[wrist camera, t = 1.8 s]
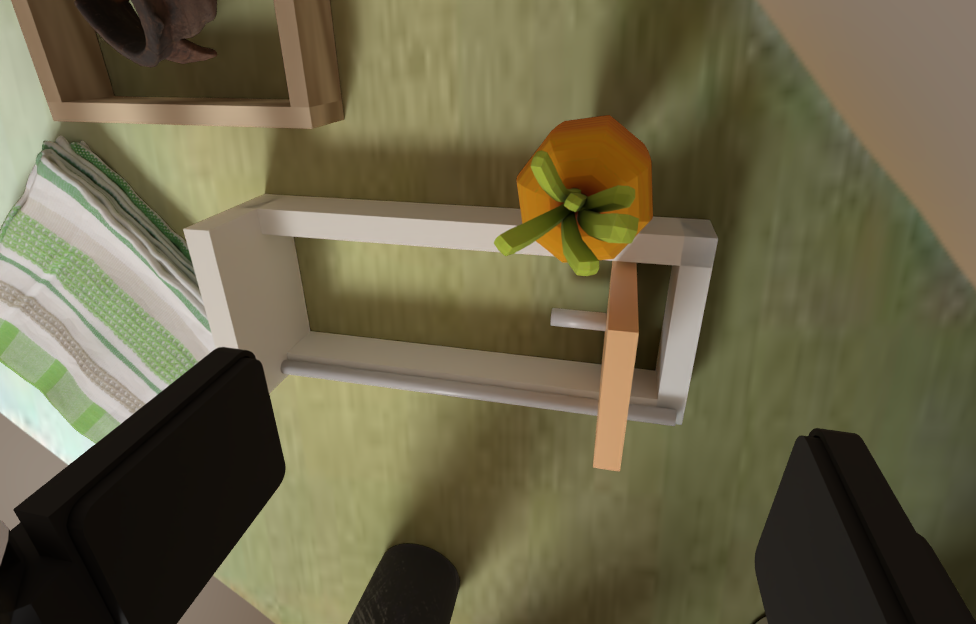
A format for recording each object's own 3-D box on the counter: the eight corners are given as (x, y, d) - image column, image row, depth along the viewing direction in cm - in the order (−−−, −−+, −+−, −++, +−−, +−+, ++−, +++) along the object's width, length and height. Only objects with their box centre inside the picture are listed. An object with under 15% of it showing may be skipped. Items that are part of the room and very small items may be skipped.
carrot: (538, 179, 29) (465, 295, 16) (565, 82, 27) (505, 126, 14) (628, 205, 29) (627, 347, 16) (664, 109, 26) (699, 182, 13)
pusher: (636, 250, 29) (638, 332, 21) (621, 362, 33) (619, 471, 24) (558, 245, 30) (532, 322, 22) (552, 355, 33) (528, 457, 25)
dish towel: (273, 318, 38) (243, 343, 35) (135, 449, 49) (102, 476, 46) (79, 124, 35) (26, 133, 32) (-26, 310, 45) (-73, 330, 42)
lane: (709, 219, 28) (732, 270, 22) (677, 394, 33) (688, 474, 27) (264, 194, 33) (183, 228, 27) (294, 347, 38) (231, 405, 32)
